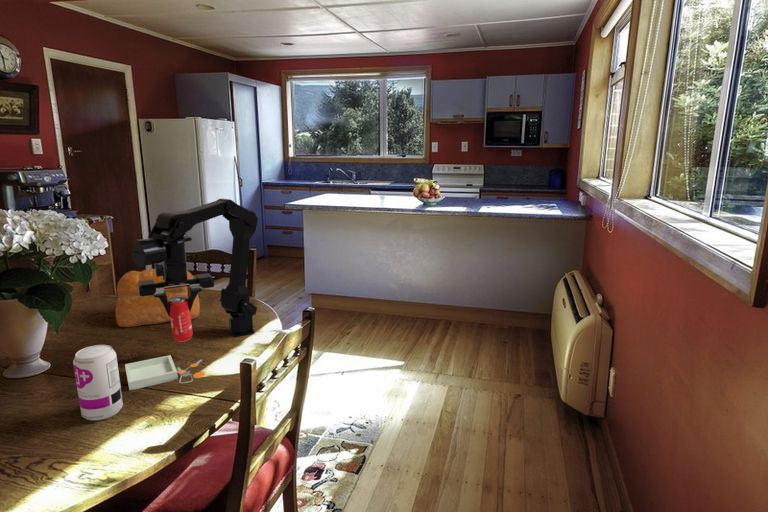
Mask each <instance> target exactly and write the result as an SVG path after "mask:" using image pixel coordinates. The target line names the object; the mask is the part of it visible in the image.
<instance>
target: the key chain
mask: <svg viewBox="0 0 768 512" xmlns="http://www.w3.org/2000/svg"><path fill="white" fill-rule="evenodd" d="M201 362H203V359H199V360H198V361H197V362H195V363H191V364H190V365H189V367H187V368H186V369H181V367H180V366H178V367H176V370H177V375H178V374H179V375H180V377H179V379H178V380H179V381H178V383H179V384H181V385H182V384H188V383H192V382H193V381H194V379H198V378H199V379H200V378H202V377H204V376H205V375H206V373H205V372H203V371H200V372H195V373H194V374H193V373H190V372H191V371H190V370H188V369H189V368H195V367H198V366H199V364H200V363H201ZM186 377H190V380H189V381H183V382H182V378H186ZM193 378H194V379H193Z"/></svg>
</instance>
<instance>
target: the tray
mask: <svg viewBox="0 0 768 512" xmlns="http://www.w3.org/2000/svg"><path fill="white" fill-rule="evenodd" d="M124 367H125V374H126V379H127V384H128V390H129V391H133V390H138V389H142V388H145V387H151V386H156V385H159V384H163V383H169V382H173V381H176V380H179V378H178V377H179V376H178V373H177V372H178V369H177V367H176V365H175V363H174V360H173V358H172V356H171V354H169V355H164V356H159V357H154V358H149V359H144V360H140V361H135V362H129V363H124Z"/></svg>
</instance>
